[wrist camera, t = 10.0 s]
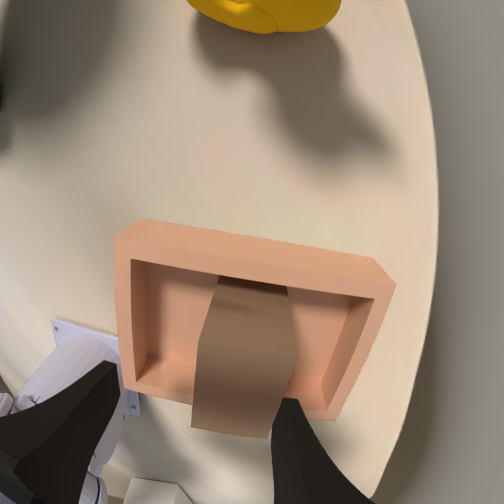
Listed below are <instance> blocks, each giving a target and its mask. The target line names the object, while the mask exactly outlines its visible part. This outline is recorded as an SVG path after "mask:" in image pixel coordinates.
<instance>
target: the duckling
mask: <svg viewBox="0 0 504 504" xmlns="http://www.w3.org/2000/svg"><path fill="white" fill-rule="evenodd" d="M187 1H188V3H189V4H190V5H191V6H192V7H193V8H195V9H196V10H198V11H199V12H201V13H203V14H204V15H206V16H208V17H210V18H212V19H214V20H217V21H219V22H221V23H224V24H226V25H229V26H231V27H234V28H237V29H241V30H245V31H249V32H254V33H259V34H270V33H273V32H275V31H279V32H305V31H312V30H316V29H319V28H321V27H323V26H324V25H326V24H327V23H328V22H330V21H331V20H332V18H333V17H334V16H335V15H336V13H337V12H338V10H339V8H340V4H341V0H187Z"/></svg>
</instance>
